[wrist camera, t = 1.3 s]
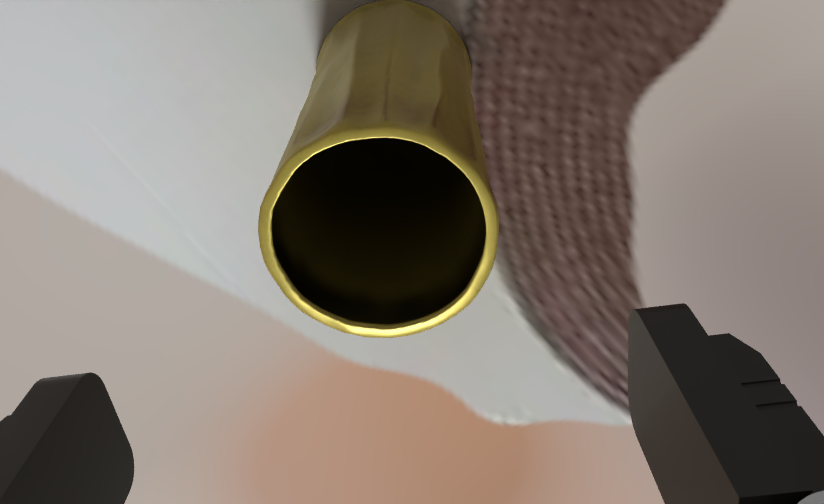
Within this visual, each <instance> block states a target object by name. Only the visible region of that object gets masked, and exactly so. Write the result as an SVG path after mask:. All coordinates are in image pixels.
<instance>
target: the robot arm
mask: <svg viewBox="0 0 824 504" xmlns="http://www.w3.org/2000/svg"><path fill="white" fill-rule="evenodd" d="M628 399H629V408H630V414H631V419H632V423H633V427H634V430H635V433H636V436H637V439H638V441H639V443H640V446H641V448H642V451H643V453H644V455H645V457H646V460H647V462H648V465H649V467H650V470H651V472H652V474H653V477H654V479H655V481H656V484H657V486H658V489H659V491H660V493H661V496H662V498H663V500H664V502H665V504H824V436H823V434H822V433H821V432H820V430H818V428H817V427H816V425H815V424H814V423H813V421H812V420H811V419H810V417H809V416H808V415H807V414H806V412H805V411H804V410H803V408H802V407H801V406H797V400H796V399H795V398H794V396H793V395H792V394H791V393H790V391H789V390H788V389H787V388H786V386H785V385H784V384H781V382H780V379H779V377H778V376H777V374H776V373H775V372H774V370H773V369H772V368H771V367H770V365H769V364H768V362H767V361H766V360H765V359H764V357H763V356H762V355H761V353H759V352H758V351H756V350H754V349H753V348H751V347H750V346H748V345H747V344H745V343H743V342H742V341H740V340H739V339H737V338H735V337H734V336H732V335H731V334H729V333H728V334H719V335H711V336H708V335H707V333H706V332H705V330H704V329H703V327H702V326H701V324H700V323H699V321H698V320H697V318H696V317H695V316H694V314H693V312H692V311H691V310H690V308H689V307H688V306H687V305H686V304H674V305H666V306H658V307H649V308H641V309H633V310H631V312H630V315H629V325H628ZM133 475H134V459H133V453H132V449H131V446H130V444H129V441H128V439H127V437H126V434H125V432H124V430H123V427H122V425H121V423H120V420H119V418H118V416H117V413H116V411H115V409H114V406H113V404H112V401H111V399H110V397H109V394H108V392H107V390H106V388H105V385H104V383H103V381H102V380H101V378H100V377H99V376H98V375H96V374H94V373H85V374H75V375H67V376H59V377H50V378H43V379H40V380H39V381H37V382H36V383H35V384H34V385H33V387H32V388H31V390H30V391H29V392H28V393H27V395H26V396H25V397H24V399H23V400H22V401H21V403H20V404H19V405H18V407H17V408H16V409H15V411H14V412H13V414H12V415H10V416H7V417H5V418H4V419H3V420H2V421H0V504H124V503H125V500H126V498H127V496H128V494H129V491H130V489H131V486H132V482H133V477H134V476H133Z"/></svg>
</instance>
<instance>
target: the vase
mask: <svg viewBox="0 0 824 504" xmlns="http://www.w3.org/2000/svg"><path fill="white" fill-rule="evenodd" d="M471 84H472V72H471V65H470V60H469V56H468V53H467V50H466V47H465V46H464V44H463V42H462V40H461V38H460V37H459V35H458V34H457V32H456V31H455V30H454V28H453V27H452V26H451V25H450V24H449V23H448V22H447V21H446V20H445V19H444V18H443V17H442V16H440V15H439V14H437V13H436V12H434V11H433V10H431V9H429V8H427V7H425V6H423V5H420V4H417V3H414V2H410V1H406V0H383V1H378V2H373V3H369V4H365V5H363V6H361V7H358V8H356V9H355V10H353V11H351V12H350V13H348V14H347V15H346V16H344V17H343V18H342V19H341V20H339V22H338V23H337V24H336V25H335V26H334V27H333V28H332V29H331V31H330V32H329V34H328V35H327V37H326V39H325V41H324V43H323V45H322V48H321V50H320V53H319V56H318V60H317V65H316V74H315V77H314V79H313V81H312V85H311V89H310V92H309V95H308V97H307V100H306V102H305V104H304V106H303V109H302V111H301V113H300V115H299V117H298V120H297V123H296V126H295V129H294V131H293V134H292V136H291V138H290V140H289V143H288V145H287V147H286V149H285V152H284V154H283V156H282V159H281V161H280V163H279V166H278V168H277V171H276V173H275V175H274V178H273V180H272V182H271V185H270V186H269V188H268V190H267V192H266V194H265V196H264V199H263V202H262V204H261V207H260V214H259V225H258V232H259V241H260V248H261V252H262V256H263V259H264V262H265V264H266V266H267V269H268V271H269V272H270V274H271V275H272V277H273V278H274V280H275V282H276V283H277V284H278V286H279V287H280V289H281V290H282V292H283V293H284V294H285V296H286V297H287V298H288V299H289V300H290V301H291V302H292V303H293V304H294V305H295V306H296V307H297V308H298V309H300V310H301V311H302V312H303V313H305V314H307V315H308V316H310V317H311V318H313V319H315V320H317V321H319V322H321V323H323V324H325V325H327V326H329V327H332V328H334V329H336V330H339V331H341V332H344V333H349V334H354V335H358V336H363V337H373V338H393V337H401V336H408V335H412V334H416V333H420V332H423V331H425V330H428V329H431V328H433V327H435V326H437V325H440V324H442V323H444V322H445V321H447V320H449V319H450V318H452V317H453V316H455V315H456V314H458V313H459V312H461V311H462V310H463V309H464V308H466V307H467V306H468V305H469V304H470V303H471V302H472V301H473V299H474V298H475V297H476V296H477V294H478V293H479V291H480V290H481V288H482V287H483V285H484V283H485V281H486V280H487V278H488V276H489V274H490V272H491V270H492V267H493V264H494V261H495V257H496V251H497V243H498V232H499V216H498V206H497V203H496V200H495V197H494V195H493V192H492V188H491V185H490V181H489V177H488V173H487V167H486V162H485V156H484V152H483V147H482V142H481V137H480V132H479V128H478V124H477V121H476V116H475V109H474V102H473V98H472V95H471Z"/></svg>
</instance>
